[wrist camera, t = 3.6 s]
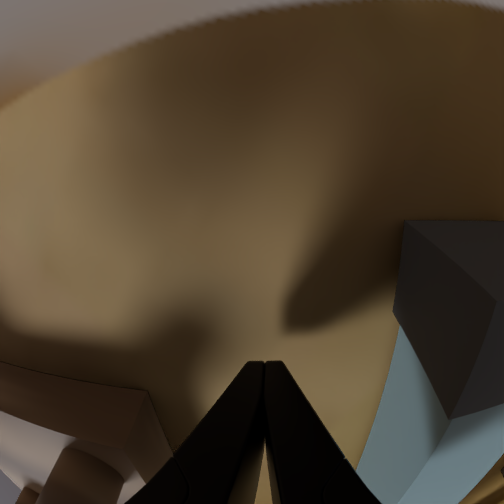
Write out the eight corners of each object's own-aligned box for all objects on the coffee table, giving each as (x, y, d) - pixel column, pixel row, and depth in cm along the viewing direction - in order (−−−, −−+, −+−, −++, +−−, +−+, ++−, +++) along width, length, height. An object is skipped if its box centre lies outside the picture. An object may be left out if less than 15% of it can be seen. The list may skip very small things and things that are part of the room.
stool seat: (205, 517, 14) (192, 592, 9) (45, 476, 15) (20, 530, 10) (147, 390, 9) (90, 535, 4) (-46, 346, 10) (-103, 408, 5)
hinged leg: (419, 467, 11) (436, 530, 7) (345, 480, 11) (353, 550, 7) (513, 221, 6) (606, 280, 3) (404, 220, 7) (497, 301, 3)
